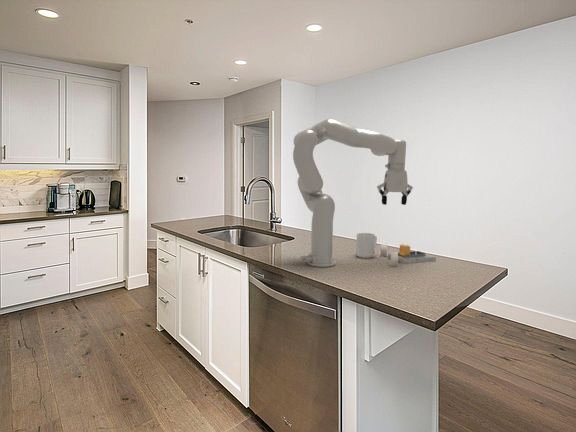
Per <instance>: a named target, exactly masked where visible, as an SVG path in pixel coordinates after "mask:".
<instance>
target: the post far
mask: <svg viewBox="0 0 576 432" xmlns="http://www.w3.org/2000/svg"><path fill="white" fill-rule="evenodd" d="M380 257H382V258H386V257H387V258H388V244H387V243H380Z"/></svg>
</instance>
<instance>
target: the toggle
mask: <svg viewBox="0 0 576 432" xmlns="http://www.w3.org/2000/svg"><path fill="white" fill-rule="evenodd" d="M410 252H411V246H410V245H409V244H406V243H401V245H399V252H398V253H399V254H400V255H403V256H404V255H410Z"/></svg>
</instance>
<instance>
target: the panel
mask: <svg viewBox="0 0 576 432" xmlns="http://www.w3.org/2000/svg"><path fill="white" fill-rule="evenodd" d="M387 258H388V259H390V260H391V253H387ZM436 261H437V257H436V256H434V255H430V254H428V253H426V252H424V251H423V252H422V251H420V250H417V251H410V255H404V256H403V255H400V254H399V252H398V263H400V264H403V265H404V264H416V263H428V262H429V263H430V262H436Z"/></svg>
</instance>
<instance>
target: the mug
mask: <svg viewBox="0 0 576 432" xmlns="http://www.w3.org/2000/svg"><path fill="white" fill-rule="evenodd" d="M377 240H378V236H377V235H376V234H374V233H371V232H368V233H367V232H359V233H356V243H355V244H356V245H355V246H356V248H355V251H356V252H355V253H356V254H355V255H356V256H357V257H358V258H361V259H373V257H375V252H376V251H375V249H376V248H377Z"/></svg>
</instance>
